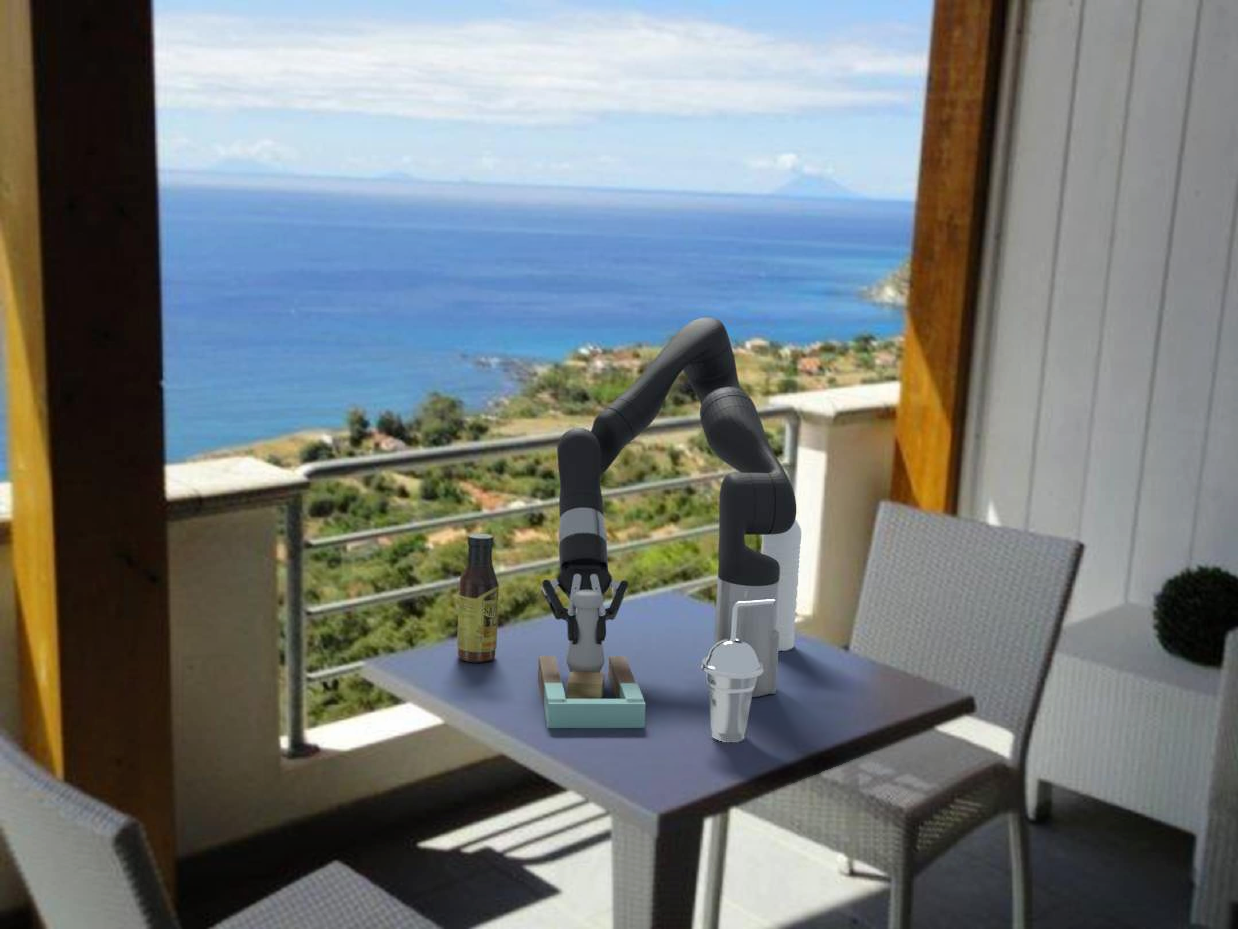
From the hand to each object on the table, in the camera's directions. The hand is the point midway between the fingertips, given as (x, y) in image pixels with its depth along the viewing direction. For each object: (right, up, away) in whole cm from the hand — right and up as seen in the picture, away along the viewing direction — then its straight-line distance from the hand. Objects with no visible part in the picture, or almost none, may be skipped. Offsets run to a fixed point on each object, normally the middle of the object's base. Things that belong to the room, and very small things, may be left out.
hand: (587, 641), depth 195 cm
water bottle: (+31, -5, +25) cm, 40 cm away
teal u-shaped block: (+1, -9, -11) cm, 14 cm away
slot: (0, -7, 0) cm, 7 cm away
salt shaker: (0, -6, +3) cm, 6 cm away
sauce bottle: (-18, -5, +13) cm, 22 cm away
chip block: (0, -8, -2) cm, 8 cm away
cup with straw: (+20, -11, -16) cm, 28 cm away
